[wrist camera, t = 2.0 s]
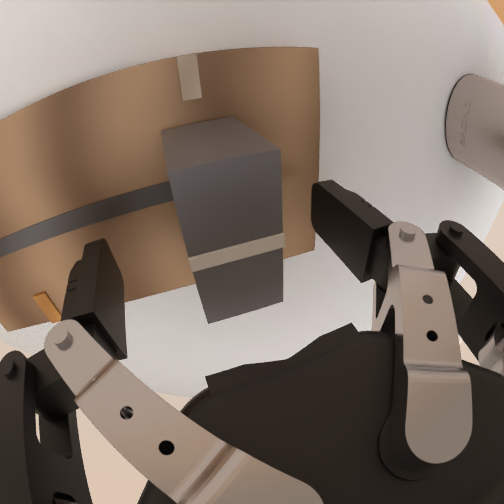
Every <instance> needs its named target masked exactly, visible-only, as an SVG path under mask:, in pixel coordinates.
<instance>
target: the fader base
mask: <svg viewBox="0 0 504 504" xmlns="http://www.w3.org/2000/svg"><path fill="white" fill-rule="evenodd" d="M227 117H234V118H235V119H237V120H238V121H240V122H241V123H243V124H244V125H246V126H247V127H249V128H250V129H252V130H254V131H255V132H257V133H258V134H259V135H261V136H262V137H264V138H265V139H267V140H268V141H270V142H271V143H273V144H274V145H275V146H277V147H278V148H280V149H281V172H282V213H283V233H284V234H285V247H283V259H285V258H288V257H292V256H295V255H299V254H302V253H306V252H309V251H312V250H314V246H315V233H316V232H315V230H314V228H313V226H312V223H311V190H312V185H313V184H314V183H317V182H318V177H319V140H320V89H319V54H318V48H311V47H258V48H241V49H229V50H219V51H210V52H203V53H195V54H189V55H183V56H177V57H172V58H167V59H162V60H158V61H153V62H149V63H145V64H141V65H137V66H133V67H129V68H126V69H122V70H119V71H115V72H112V73H109V74H106V75H102V76H99V77H96V78H93V79H91V80H88V81H85V82H82V83H80V84H77V85H74V86H72V87H69V88H67V89H64V90H62V91H59V92H57V93H55V94H53V95H50V96H48V97H46V98H44V99H41V100H39V101H37V102H35V103H33V104H31V105H29V106H27V107H25V108H23V109H21V110H19V111H17V112H16V113H14V114H12V115H10V116H8V117H7V118H5V119H3V120H1V121H0V323H1V324H2V325H3V327H4V328H5V329H6V330H7V331H13V330H17V329H21V328H25V327H29V326H33V325H38V324H42V323H46V322H50V321H51V322H52V323H55V322H59V321H61V315H62V309H63V303H64V298H65V293H66V287H67V284H68V278H69V274H70V271H71V269H72V268H73V266H74V264H75V263H76V261H78V260H81V259H82V255H83V251H84V246H85V244H87V243H90V242H93V241H96V240H99V239H102V238H105V239H106V241H107V243H108V245H109V247H110V249H111V252H112V254H113V256H114V258H115V260H116V263H117V265H118V267H119V269H120V271H121V274H122V277H123V281H124V302H128V301H132V300H136V299H140V298H143V297H147V296H151V295H155V294H158V293H162V292H166V291H170V290H173V289H177V288H181V287H184V286H188V285H192V284H195V283H196V282H195V278H194V275H193V272H192V271H191V267H190V264H189V260H188V258H189V257H188V254H187V250H186V246H185V242H184V239H183V235H182V231H181V227H180V223H179V219H178V215H177V211H176V207H175V203H174V199H173V195H172V190H171V186H170V182H169V177H168V173H167V167H166V161H165V155H164V149H163V142H162V136H161V131H163V130H167V129H171V128H175V127H180V126H184V125H189V124H194V123H199V122H204V121H209V120H215V119H221V118H227Z"/></svg>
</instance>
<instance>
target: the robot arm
mask: <svg viewBox="0 0 504 504" xmlns="http://www.w3.org/2000/svg"><path fill="white" fill-rule="evenodd" d="M446 137H447V143H448V147H449V150H450V153H451V154H452V156H453V157H454V158H455V159H456V160H457V161H459V162H461V163H463V164H464V165H466V166H468V167H469V168H471V169H473V170H474V171H476V172H478V173H479V174H481V175H482V176H484V177H485V178H487V179H488V180H490V181H491V182H493V183H494V184H496V185H497V186H499V187H500V188H502V189H503V190H504V85H502V84H499V83H497V82H494V81H491V80H488V79H485V78H482V77H479V76H476V75H473V74H472V75H466V76H464V77H463V78H462V79H461V80H460V81H459V82H458V84H457V85H456V87H455V88H454V91H453V93H452V95H451V99H450V102H449V106H448V111H447V119H446ZM311 223H312V226H313V228H314V230H315V232H316V233H317V234H318V235H319V236H320V237H321V238H322V239H323V240H324V242H325V243H326V244H327V245H328V246H329V247H330V248H331V249H332V250H333V251H334V253H335V254H336V255H337V256H338V257H339V258H340V259H341V260H342V261H343V263H344V264H345V265H346V266H347V267H348V268H349V269H350V271H351V272H352V273H353V274H354V275H355V276H356V277H357V279H358V280H359V281H360V282H361V283H363V282H365V281H368V280H370V279H374V280H375V283H374V287H373V317H372V329H371V331H360V332H358V331H357V329H356V328H355V327H354V325H353V324H352V323H350V324H348V325H345V326H343V327H341V328H338V329H336V330H334V331H332V332H329V333H327V334H324V335H322V336H320V337H318V338H317V339H316V340H314V341H313V342H312V343H310V344H309V345H307V346H306V347H305V348H303V349H302V350H300V351H299V352H298V353H296V354H295V355H293V356H292V357H290V358H288V359H286V360H280V361H272V362H264V363H255V364H245V365H241V366H238V367H235V368H232V369H229V370H226V371H222V372H219V373H216V374H212V375H209V376H205V378H206V381H207V384H208V388H206V389H204V390H203V391H201V392H200V393H198V394H197V395H196V396H194V397H193V398H192V399H191V400H190V401H189V402H188V403H187V404H186V405H185V406H184V408H183V409H182V410H181V411H178V410H177V409H176V408H174V407H173V406H171V405H170V404H169V403H168V402H166V401H165V400H164V399H163V398H161V397H160V396H159V395H157V394H156V393H155V392H154V391H153V390H151V389H150V388H149V387H148V386H147V385H145V384H144V383H143V382H142V381H141V380H139V379H138V378H137V377H136V376H135V375H134V374H133V373H131V372H130V371H129V370H128V369H127V368H126V367H125V366H124V365H123V364H122V363H120V362H119V361H118V360H122V359H126V358H127V346H126V330H125V305H124V281H123V277H122V274H121V271H120V269H119V267H118V265H117V263H116V260H115V258H114V256H113V254H112V252H111V249H110V247H109V245H108V243H107V241H106V239H105V238H102V239H99V240H96V241H93V242H90V243H87V244H85V246H84V251H83V255H82V259H81V260H78V261H76V263H75V264H74V266H73V268H72V269H71V271H70V274H69V278H68V284H67V287H66V293H65V298H64V303H63V309H62V315H61V321H60V322H59V323H58V324H56V325H55V326H54V327H53V328H52V329H51V330H50V331H49V333H48V335H47V337H46V339H45V343H44V349H43V350H41V351H40V352H38V353H36V354H35V355H33V356H31V357H30V358H28V359H27V358H26V357H25V356H24V355H23V354H22V353H21V352H20V351H11V352H9V353H8V354H6V355H5V356H4V357H3V359H2V360H1V362H0V504H93V503H92V499H91V496H90V492H89V488H88V484H87V479H86V475H85V470H84V465H83V459H82V454H81V448H80V441H79V434H78V427H77V418H76V409H78V408H80V409H81V410H82V412H83V413H84V414H85V415H86V416H87V418H88V419H89V420H90V421H91V422H92V424H93V425H94V426H95V427H96V428H97V429H98V430H99V432H101V434H102V435H103V436H104V437H105V438H106V439H107V440H108V441H109V442H110V443H111V444H112V446H113V447H114V448H116V450H117V451H118V452H119V453H120V454H121V455H122V456H123V457H124V458H125V459H126V460H127V461H129V462H130V463H131V464H132V465H133V466H134V467H135V468H136V469H137V470H138V471H139V472H140V473H142V474H143V475H144V476H145V477H146V478H147V479H148V481H147V483H146V486H145V488H144V490H143V492H142V494H141V497H140V499H139V501H138V503H137V504H504V263H503V262H502V261H501V260H500V259H499V258H498V257H497V256H496V255H495V254H494V253H493V252H492V251H491V250H490V249H489V248H488V247H487V246H485V244H483V243H482V242H481V241H480V240H479V239H478V238H477V237H476V236H474V235H473V234H472V233H471V232H470V231H469V230H468V229H466V228H465V227H464V226H462V225H461V224H459V223H457V222H454V221H449V220H446V221H442V222H441V223H440V225H439V228H438V231H437V233H427V234H425V233H424V232H423V231H422V230H421V229H420V228H419V227H417V226H416V225H414V224H411V223H408V222H392V221H391V220H390V219H389V218H387V217H386V216H385V215H384V214H382V213H381V212H380V211H379V210H377V209H376V208H375V207H372V205H371V204H370V203H368V202H367V201H365V200H364V199H363V198H362V197H360V196H359V195H358V194H356V193H354V192H351V191H349V190H346V189H344V188H343V187H341V186H340V185H339V184H337V183H336V182H335V181H333V180H327V181H322V182H317V183H314V184H313V185H312V190H311ZM460 266H461V267H462V268H463V269H464V270H465V271H466V272H467V273H468V274H469V275H470V276H471V277H472V278H473V279H474V280H475V282H476V285H477V293H476V295H475V297H474V298H473V299H472V298H471V296H470V295H469V294H468V293H467V292H466V291H465V290H464V289H463V287H462V286H461V285H460V284H459V283H458V282H457V281H456V280H455V279H454V278H455V276H456V273H457V271H458V269H459V267H460ZM458 334H459V335H460V337H461V338H462V339H463V341H464V342H465V343H466V344H467V346H468V347H469V349H470V350H471V352H472V353H473V354H474V356H475V357H476V358H477V360H478V361H479V364H480V365H479V366H478V365H475V364H472V363H470V362H467V361H464V360H461V353H460V345H459V338H458ZM35 413H36V414H38V415H39V430H40V443H39V441H38V438H37V435H36V422H35V421H36V420H35Z"/></svg>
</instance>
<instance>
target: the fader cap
mask: <svg viewBox="0 0 504 504" xmlns="http://www.w3.org/2000/svg"><path fill="white" fill-rule="evenodd" d="M161 136H162V142H163V149H164V155H165V161H166V167H167V173H168V177H169V182H170V186H171V190H172V195H173V199H174V203H175V207H176V211H177V215H178V219H179V223H180V227H181V231H182V235H183V239H184V242H185V246H186V250H187V254H188V257H189V258H188V260H189V264H190V267H191V271H192V272H193V275H194V278H195V282H196V285H197V289H198V292H199V295H200V299H201V302H202V305H203V309H204V312H205V315H206V318H207V321H208V324H209V323H213V322H216V321H220V320H223V319H227V318H230V317H234V316H237V315H240V314H244V313H247V312H250V311H254V310H257V309H260V308H263V307H267V306H270V305H273V304H276V303H279V302H282V301H283V247H285V234H284V233H283V213H282V172H281V149H280V148H278V147H277V146H275V145H274V144H273V143H271V142H270V141H268V140H267V139H265V138H264V137H262V136H261V135H259V134H258V133H257V132H255V131H254V130H252V129H250V128H249V127H247V126H246V125H244V124H243V123H241V122H240V121H238V120H237V119H235V118H234V117H227V118H221V119H215V120H209V121H204V122H199V123H194V124H189V125H184V126H180V127H175V128H171V129H167V130H163V131H161Z"/></svg>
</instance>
